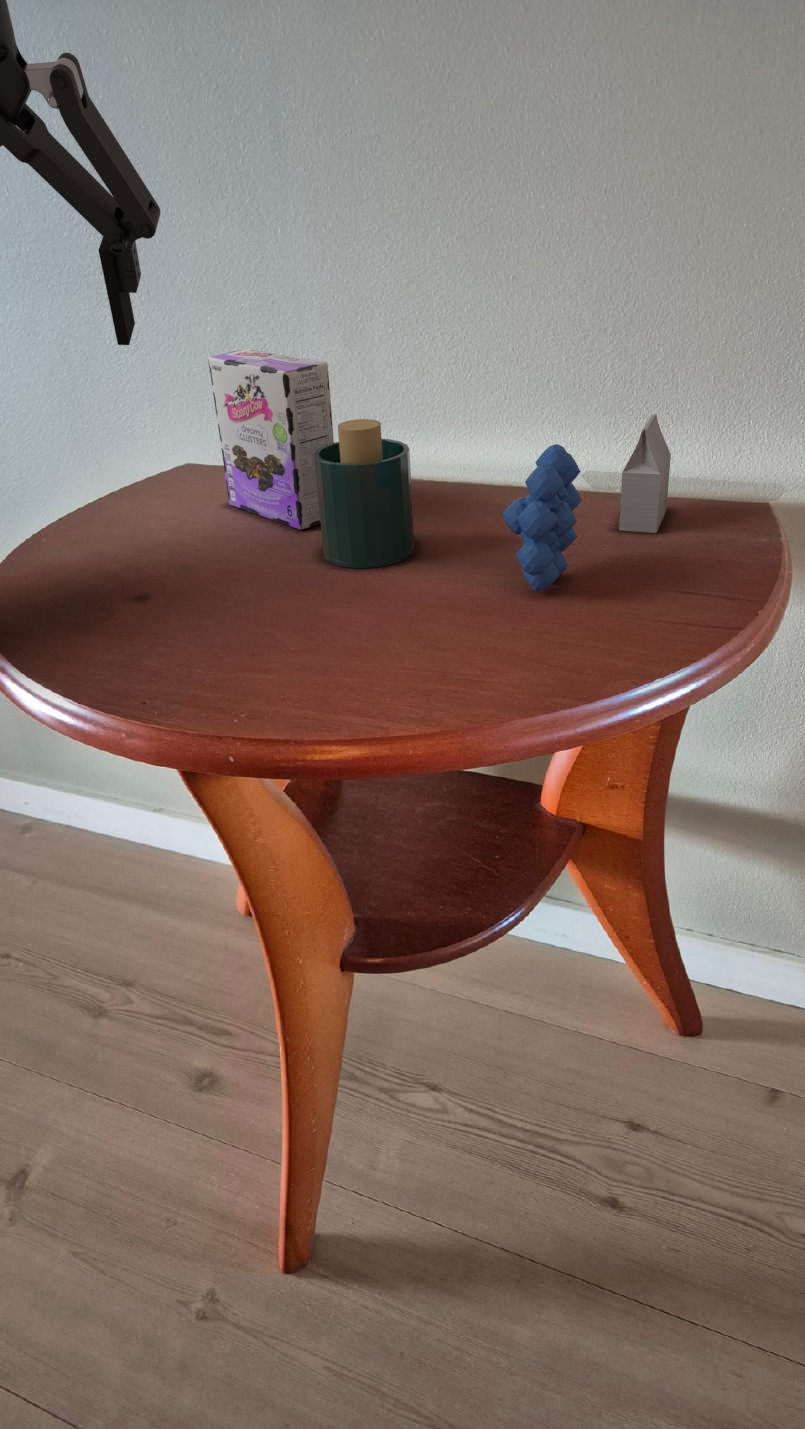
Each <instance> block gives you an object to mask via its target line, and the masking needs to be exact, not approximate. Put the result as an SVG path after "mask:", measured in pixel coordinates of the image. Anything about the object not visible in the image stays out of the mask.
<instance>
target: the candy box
mask: <svg viewBox="0 0 805 1429" xmlns="http://www.w3.org/2000/svg"><path fill="white" fill-rule="evenodd" d="M207 361H208V368H209V374H210V380H211V381H210V382H211V389H212V396H213V401H214V407H215V408H214V409H215V415H216V422H217V429H218V435H219V440H220V441H219V442H220V448H221V454H222V462H223V468H224V476H225V483H226V489H227V498H228V504H229V505H230V506H232V507H235V508H238V509H242V510H244V511H247V512H249V513H251V514H252V513H253V514H255V515H258V516H260V517H264V518H266V519H269V520H272V521H275V522H277V523H280V524H283V525H286V526H289V527H292V528H294V529H297V530H300V531H301V530H305V529H309V528H312V527H314V526H318V525H320V516H319V506H318V496H317V486H316V477H315V467H314V457H313V454H314V452H315V451H316V450H317V449H319V448H321V447H323V446H325V445H328V444H331V443H335V439H334V427H333V415H332V414H333V413H332V401H331V390H330V378H329V363H328V361H323V360H314V359H313V360H312V359H307V358H299V357H294V356H289V355H284V354H279V353H278V354H276V353H273V352H266V351H261V350H256V349H254V348H245V349H244V348H243V349H239V350H234V351H229V352H226V353H221V354H217V355H216V354H215V355H211V356H208V357H207Z"/></svg>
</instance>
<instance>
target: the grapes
mask: <svg viewBox="0 0 805 1429" xmlns="http://www.w3.org/2000/svg"><path fill="white" fill-rule="evenodd" d="M535 466H536V468H535V469H534V470H533V471H532V472H531V473H530V474H529V476H528V477H527V478H526V479H525V481H524V483H525V486H526V487H527V490H528V494H527V496H526V497H523V496H520V497H518V498H515V499H514V500H513V501H512V502H511V503H510V504H509V505H508V506H507V507H506V509H505V510H504V511H503V513H502V518H503V520H504V522H505V523H506V526H507V527H508V529H509V530H510V532H511V533H513V534H514V535H515V534H516V535H518V536H520V537H521V540H522V544H523V545H522V546H521V548H519V550H518V551H517V552H516V557H517V560H518V562H519V564H520V567H521V568H522V570H521V571H522V575H523V577H524V579H525V581H526V583H527V585H528V586H529V588H530V589H531V590H533V591H536V592H538V593H542V592H544V591H547V589H548V588H549V587H550V586H552V584H553V583H554V582H556V580H557V579H558V578H559V577H560V576H561V575H562V574H563V573H564V572H565V571H566V570H567V569H568V568H569V564H568V561H567V560H566V558H565V556H564V554H563V552H564V551H565V550H566V549H567V548H569V546H570V545H571V544H573V542H574V541H575V540H576V539H577V538H578V535H577V533H576V531H575V529H574V526H575V525H576V523H577V522H578V519H577V517H576V515H575V512H574V510H575V509H576V508H577V507H578V506H579V504H580V503H581V502H582V498H581V496H580V493H579V491H578V490H577V488H576V486H575V485H574V484H573V482H574V481H575V480H576V478H578V476H579V475H580V474H581V470H580V467H579V465H578V463H577V462H576V460H575V459H574V457H573V456H572V454H570V453H569V452H568V451H567V450H566V448H565V447H564V446H562V445H560V444H557V443H556V444H551V445H549V446H548V447H547V448H546V449H545V450H544V451H543V452H542V453H541V455H540V456H539V457H538V458H537V459H536V461H535Z"/></svg>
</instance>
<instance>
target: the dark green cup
mask: <svg viewBox="0 0 805 1429" xmlns="http://www.w3.org/2000/svg"><path fill="white" fill-rule="evenodd" d="M382 453H383V460H381V461H376V462H368V463H341V459H340V448H339V441H336V442H335V441H334V443H331V444H328V445H325V446H323V447H321V448H319V449H317V450H316V451H315V452H314V454H313V457H314V467H315V477H316V486H317V496H318V506H319V516H320V524H319V526H320V535H321V544H322V545H321V546H322V552H323V558H324V559H325V560H326V561H327V562H329V563H331V564H333V565H336V566H339V567H343V568H350V569H373V568H381V567H386V566H391V565H394V564H397V563H400V562H402V561H404V560H406V559H407V558H409V557H411V555H412V554H413V553H414V551H415V530H414V527H415V526H414V511H413V510H414V509H413V508H414V507H413V490H412V473H411V470H412V469H411V455H410V454H411V452H410V447H409V445H408V444H407V443H404V442H402V441H399V440H395V439H391V438H382Z"/></svg>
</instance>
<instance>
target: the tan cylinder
mask: <svg viewBox="0 0 805 1429" xmlns="http://www.w3.org/2000/svg"><path fill="white" fill-rule="evenodd" d="M337 435H338V436H337V437H338V442H339V448H340V459H341V463H368V462H376V461H381V460H383V453H382V439H383V438H382V425H381V421H380V420H376V419H371V418H358V419H349V420H346V421H343V422H340V423H338V425H337Z"/></svg>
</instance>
